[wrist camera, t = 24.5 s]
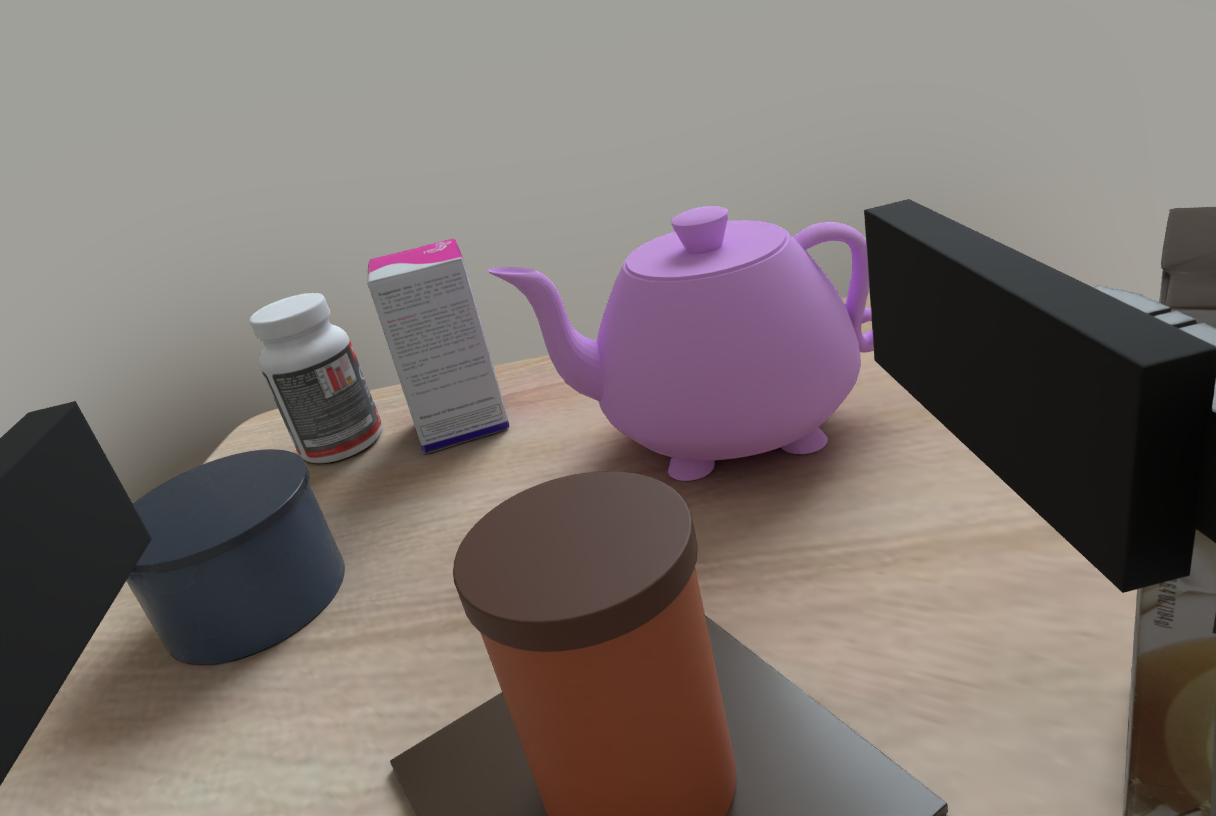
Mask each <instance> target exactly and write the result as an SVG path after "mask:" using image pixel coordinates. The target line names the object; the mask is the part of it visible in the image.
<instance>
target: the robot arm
mask: <svg viewBox="0 0 1216 816" xmlns="http://www.w3.org/2000/svg"><path fill="white" fill-rule="evenodd" d="M864 215H865V229H866V244H867V258H868V273H869V287H870V302H871V316H872V330H873V345H874V359H875V361H876V362H877V363H878V364H879V365H880V366H881V367H882V368H883V369H884V370H885V371H886V372H888V373H889V374H890V375H891V376H892V377H893V378H894V379H895V380H896V381H897V382H898V383H899V384H900V385H901V386H902V387H904V388H905V389H906V390H907V391H908V392H909V393H910V394H911V395H912V396H913V397H914V398H915V399H916V400H917V401H918V402H920V403H921V404H922V405H923V406H924V407H925V408H926V409H927V410H928V411H929V412H930V413H931V414H932V415H933V416H935V417H936V418H937V419H938V420H939V421H940V422H941V423H942V424H943V425H944V426H945V427H946V428H947V429H948V430H949V431H951V432H952V433H953V434H954V435H955V436H956V437H957V438H958V439H959V440H960V441H961V442H962V443H963V444H964V445H965V446H967V447H968V448H969V449H970V450H971V451H972V452H973V453H974V454H975V455H976V456H977V457H978V458H979V459H980V460H981V461H983V462H984V463H985V464H986V465H987V466H988V467H989V468H990V469H991V470H992V471H993V472H994V473H995V474H996V475H998V476H999V477H1000V478H1001V479H1002V480H1003V481H1004V482H1005V483H1006V484H1007V485H1008V486H1009V487H1010V488H1011V489H1012V490H1014V491H1015V492H1016V493H1017V494H1018V495H1019V496H1020V497H1021V498H1022V499H1023V500H1024V501H1025V502H1026V503H1027V504H1028V505H1030V506H1031V507H1032V508H1033V509H1034V510H1035V511H1036V512H1037V513H1038V514H1039V515H1040V516H1041V517H1042V518H1043V519H1044V520H1046V521H1047V522H1048V523H1049V524H1050V525H1051V526H1052V527H1053V528H1054V529H1055V530H1056V531H1057V532H1058V533H1059V534H1061V535H1062V536H1063V537H1064V538H1065V539H1066V540H1067V541H1068V542H1069V543H1070V544H1071V545H1072V546H1073V547H1074V548H1075V549H1077V550H1078V551H1079V552H1080V553H1081V554H1082V555H1083V556H1084V557H1085V558H1086V559H1087V560H1088V561H1089V562H1090V563H1091V564H1093V565H1094V566H1095V567H1096V568H1097V569H1098V570H1099V571H1100V572H1101V573H1102V574H1103V575H1104V576H1105V577H1106V578H1108V579H1109V580H1110V581H1111V582H1112V583H1113V584H1114V585H1115V586H1116V587H1117V588H1118V589H1119V590H1120V591H1121V592H1122V593H1124V592H1128V591H1132V590H1136V589H1140V588H1144V587H1147V586H1151V585H1155V584H1159V583H1163V582H1167V581H1171V580H1175V579H1179V578H1183V577H1187V576H1190V570H1191V563H1192V555H1193V548H1194V540H1195V533H1196V529H1197V530H1198V531H1200V532H1201V533H1202V534H1204V535H1205V536H1206V537H1208V538H1209V539H1210V540H1212V541H1213V542H1214V543H1216V328H1214V327H1212V326H1210V325H1207V324H1205V323H1199V324H1197V322H1196V319H1194V318H1192V317H1190V316H1188V315H1185V314H1183V313H1181V312H1179V311H1173V312H1172V311H1171V308H1170V307H1168V306H1166V305H1163V304H1161V303H1159V302H1157V301H1155V300H1152V299H1150V298H1148V297H1146V296H1144V295H1141V294H1138V293H1134V292H1128V291H1124V290H1119V289H1113V288H1109V287H1104V286H1099V285H1098V286H1094V287H1091V286H1089V285H1087V284H1085V283H1083V282H1081V281H1079V280H1076V279H1074V278H1072V277H1070V276H1068V275H1066V274H1064V273H1062V272H1060V271H1058V270H1056V269H1054V268H1051V267H1049V266H1047V265H1045V264H1043V263H1041V262H1039V261H1037V260H1035V259H1032V258H1031V257H1028V256H1026V255H1024V254H1022V253H1020V252H1018V251H1016V250H1014V249H1012V248H1010V247H1008V246H1005V245H1003V244H1001V243H999V242H997V241H995V240H993V239H991V238H989V237H987V236H985V235H983V234H981V233H979V232H976V231H974V230H972V229H970V228H968V227H966V226H964V225H962V224H960V223H958V222H956V221H954V220H951V219H949V218H947V217H945V216H943V215H941V214H938V213H937V212H935V211H933V210H931V209H929V208H926V207H924V206H922V205H920V204H918V203H916V202H914V201H912V200H910V199H908V200H903V201H899V202H895V203H891V204H887V205H884V206H879V207H875V208H870V209H866V210H864ZM151 539H152V538H151V536H150V535H149V533H148V531H147V529H146V527H145V526H144V524H143V522H142V520H141V518H140V517H139V515H138V513H137V511H136V509H135V508H134V506H133V504H132V502H131V501H130V499H129V497H128V495H127V493H126V491H125V490H124V488H123V486H122V484H121V482H120V480H119V479H118V477H117V475H116V473H115V471H114V470H113V468H112V466H111V464H110V463H109V461H108V459H107V457H106V455H105V453H104V452H103V450H102V448H101V446H100V444H99V443H98V441H97V439H96V437H95V435H94V434H93V432H92V430H91V428H90V426H89V425H88V423H87V421H86V419H85V417H84V416H83V414H82V412H81V410H80V408H79V407H78V405H77V403H76V401H74V402H70V403H66V404H62V405H58V406H54V407H49V408H46V409H41V410H37V411H33V412H29V413H27V414H26V415H25V416H24V417H23V418H22V419H21V420H20V421H19V422H18V423H16V424H15V425H14V426H13V427H12V428H11V429H10V430H9V431H8V432H7V433H5V434H4V435H3V436H2V437H1V438H0V785H1V784H2V782H3V781H4V779H5V777H6V776H7V774H8V772H9V771H10V769H11V767H12V766H13V764H14V763H15V761H16V759H17V758H18V756H19V754H20V753H21V751H22V750H23V748H24V746H25V745H26V743H27V741H28V740H29V738H30V737H31V735H32V733H33V732H34V730H35V728H36V727H37V725H38V723H39V722H40V720H41V719H42V717H43V715H44V714H45V712H46V710H47V709H48V707H49V706H50V704H51V702H52V701H53V699H54V697H55V696H56V694H57V693H58V691H59V689H60V688H61V686H62V684H63V683H64V681H65V680H66V678H67V676H68V675H69V673H70V671H71V670H72V668H73V666H74V665H75V663H76V662H77V660H78V658H79V657H80V655H81V653H82V652H83V650H84V649H85V647H86V645H87V644H88V642H89V640H90V639H91V637H92V636H93V634H94V632H95V631H96V629H97V627H98V626H99V624H100V622H101V621H102V619H103V618H104V616H105V614H106V613H107V611H108V609H109V608H110V606H111V605H112V603H113V601H114V600H115V598H116V596H117V595H118V593H119V592H120V590H121V588H122V587H123V585H124V583H125V582H126V580H127V579H128V577H129V575H130V574H131V572H132V570H133V569H134V567H135V565H136V564H137V562H138V561H139V559H140V557H141V556H142V554H143V552H144V551H145V549H146V548H147V546H148V544H149V543H150V541H151ZM1213 633H1215V634H1216V614H1215V620H1214V627H1213ZM1210 816H1216V700H1215V722H1214V744H1213V767H1212V789H1211V811H1210Z"/></svg>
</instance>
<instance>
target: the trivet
mask: <svg viewBox="0 0 1216 816" xmlns="http://www.w3.org/2000/svg"><path fill="white" fill-rule="evenodd" d="M705 619H706V624H707V628H708V633H709V638H710V643H711V648H712V652H713V657H714V662H715V667H716V672H717V677H718V681H719V686H720V691H721V696H722V701H723V706H724V710H725V715H726V720H727V725H728V730H729V735H730V739H731V744H732V749H733V754H734V759H735V765H736V787H735V793H734V796H733V799H732V802H731V805H730V808H729V810H728V812H727V814H726V816H944V815H945V814H946V813H947V812H948V805H947V803H946V802H945V801H943V800H942V799H941V798H939V797H938V796H937V795H936V794H934V793H933V792H932V791H930V790H929V789H928V788H927V787H925V786H924V785H923V784H921V783H920V782H919V781H918V780H916V779H915V778H914V777H912V776H911V775H910V774H909V773H907V772H906V771H905V770H903V769H902V768H901V767H900V766H898V765H897V764H896V763H894V762H893V761H892V760H891V759H889V758H888V757H887V756H885V755H884V754H883V753H882V752H880V751H879V750H878V749H876V748H875V747H874V746H873V745H871V744H870V743H869V742H867V741H866V740H865V739H864V738H862V737H861V736H860V735H858V734H857V733H856V732H855V731H853V730H852V729H851V728H849V727H848V726H847V725H846V724H844V723H843V722H842V721H840V720H839V719H838V718H837V717H835V716H834V715H833V714H831V713H830V712H829V711H828V710H826V709H825V708H824V707H822V706H821V705H820V704H819V703H817V702H816V701H815V700H813V699H812V698H811V697H810V696H808V695H807V694H806V693H804V692H803V691H802V690H801V689H799V688H798V687H797V686H795V685H794V684H793V683H792V682H790V681H789V680H788V679H786V678H785V677H784V676H783V675H781V674H780V673H779V672H777V671H776V670H775V669H774V668H772V667H771V666H770V665H768V664H767V663H766V662H765V661H763V660H762V659H761V658H759V657H758V656H757V655H756V654H754V653H753V652H752V651H751V650H749V649H748V648H747V647H745V646H744V645H743V644H742V643H740V642H739V641H738V640H736V639H735V638H734V637H733V636H731V635H730V634H729V633H727V632H726V631H725V630H724V629H722V628H721V627H720V626H718V625H717V624H716V623H715V622H713V621H712V620H711V619H709V618H708V617H707V616H706V615H705ZM390 763H391V765H392V767H393V769H394V771H395V773H396V775H397V777H398V779H399V781H400V783H401V785H402V787H403V788H404V790H405V792H406V794H407V796H408V798H409V800H410V802H411V804H412V806H413V808H414V810H415V812H416V814H417V815H418V816H547V813H546V810H545V807H544V805H543V802H542V799H541V796H540V794H539V791H538V788H537V786H536V783H535V780H534V777H533V775H532V772H531V769H530V766H529V764H528V761H527V758H526V755H525V753H524V750H523V747H522V744H521V742H520V739H519V736H518V734H517V731H516V728H515V725H514V723H513V720H512V717H511V714H510V712H509V709H508V706H507V703H506V701H505V698H504V695H503V692H502V693H500V694H498V695H497V696H495V697H493V698H492V699H490V700H488V701H487V702H485V703H484V704H482V705H480V706H479V707H477V708H475V709H474V710H472V711H470V712H469V713H467V714H466V715H464V716H462V717H461V718H459V719H457V720H456V721H454V722H452V723H451V724H449V725H448V726H446V727H444V728H443V729H441V730H439V731H438V732H436V733H434V734H433V735H431V736H430V737H428V738H426V739H425V740H423V741H421V742H420V743H418V744H416V745H415V746H413V747H412V748H410V749H408V750H407V751H405V752H403V753H402V754H400V755H398V756H397V757H395V758H394V759H392V760H390Z"/></svg>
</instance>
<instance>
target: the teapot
mask: <svg viewBox="0 0 1216 816" xmlns="http://www.w3.org/2000/svg"><path fill="white" fill-rule="evenodd" d="M727 219H728V210H727V209H725V208H722V207H717V206H706V207H699V208H694V209H691V210H687V211H685V212H682V213H680V214H678V215H677V216H675V217H674V218H673V219H672V220H671V223H672V226H673V228H674V231H675V232H672V233H668V234H666V235H663V236H660V237H658V238H655V239H653V240H651V241H649V242H647V243H645V244H643V245H641V246H640V247H638V248H637V249H635V250H634V251H633V252H632V253H631V254H630V255H629V257H628V258H627V259H626V260H625V262H624V264H623V266H622V268H621V270H620V272H619V274H618V276H617V278H616V281H615V284H614V286H613V289H612V292H611V294H610V297H609V300H608V303H607V305H606V308H605V311H604V315H603V318H602V322H601V325H600V329H599V332H598V338H597V342H596V341H593V340H591V339H589V338H586V337H584V336H582V335H581V334H579V333H578V332H577V331H575V329H574V328H573V327H572V325H571V323H570V322H569V319H568V317H567V314H566V312H565V308H564V306H563V302H562V300H561V297H560V295H559V293H558V290H557V288H556V287H555V286H554V284H553V283H552V282H551V280H549V279H548V278H547V277H546V276H545V275H544V274H542V273H541V272H539V271H536V270H533V269H526V268H513V267H507V268H506V267H502V268H491V269H488V272H489V273H491V274H493V275H495V276H497V277H500V278H501V279H503V280H505V281H507V282H509V283H511V284H513V285H514V286H516V287H517V288H518V289H519V290H520V291H521V292H522V293H523V294H524V295H525V296H526V297H527V299H528V300H529V302H530V304H531V305H532V307H533V309H534V311H535V314H536V316H537V318H538V321H539V325H540V328H541V331H542V334H543V338H544V341H545V344H546V347H547V350H548V353H549V355H550V358H551V360H552V362H553V364H554V366H555V368H556V370H557V372H558V373H559V375H560V376H561V377H562V378H563V379H564V381H565V382H566V383H567V384H568V385H569V386H571V387H572V388H573V389H575V390H576V391H578V392H579V393H581V394H583V395H585V396H588V397H590V398H593V399H595V400H598V401H599V404H600V407H601V410H602V411H603V413H604V414H605V416H606V417H607V419H608V420H609V421H610V423H611V424H612V425H613V426H614V427H616V428H617V429H618V430H619V431H620V432H622V433H623V434H625V435H626V436H628V437H629V438H631V439H632V440H634V441H636V442H637V443H639V444H641V445H643V446H645V447H646V448H648V449H650V450H652V451H654V452H657V453H659V454H662V455H666V456H669V457H671V461H670V465H669V469H668V473H669V475H670V476H671V477H672V478H674V479H676V480H681V481H691V480H696V479H700V478H702V477H705V476H706V475H708V474H709V473H711V471H712V470H713V469H714V466H715V460H725V459H733V458H741V457H746V456H751V455H756V454H760V453H764V452H767V451H771V450H774V449H777V448H780V447H781V448H782V449H783V450H784V451H786V452H788V453H792V454H808V453H813V452H816V451H818V450H820V449H822V448H823V447H824V446H825V445H826V444H827V442H828V438H827V436H826V435H825V434H824V432H823V431H822V430H821V429H820V427H819V426H820V425H822V424H823V423H824V422H825V421H826V420H827V419H828V418H829V416H830V415H832V414H833V413H834V411H835V410H836V409H837V408H838V407H839V405H840V404H841V403H842V402H843V401H844V399H845V398H846V397H847V395H848V394H849V393H850V391H851V390H852V388H853V386H854V385H855V383H856V380H857V377H858V374H859V370H860V366H861V360H860V352H870V351H873V350H874V345H873V330H871V331H869V332H868V333H865V334H862V333H861V324H862V323H865V322H868V321H872V316H871V307H870V308H867V309H865V304H866V300H867V296H868V291H869V273H868V258H867V244H866V239H865V238H864V236H863V235H862V234H861V233H860V232H858V231H857V230H855V229H853V228H852V227H850V226H847V225H844V224H841V223H835V222H823V223H818V224H814V225H812V226H809V227H807V228H805V229H804V230H802V231H800V232H798V233H797V234H796V235H795V237H792V236H791V235H790V234H789V233H788V232H787V231H786V230H784V229H783V228H781V227H779V226H777V225H775V224H772V223H768V222H763V221H752V220H750V221H749V220H738V221H727ZM826 241H842V242H845V243H847V244H848V245H849V246H850V248H851V252H852V275H851V281H850V287H849V291H848V296H847V300H846V305H845V304H844V302H843V300H842V299H841V297H840V295H839V293H838V291H837V290H836V288H835V287H834V286H833V284H832V283H831V281H830V280H829V278H828V277H827V276H826V274H825V273H824V272H823V271H822V269H821V268H820V267H819V266H818V265H817V264H816V262H815V261H814V260H813V259H812V257H811V256H810V255H809V254H808V253H807V252H806V249H807V248H810V247H812V246H814V245H817V244H819V243H822V242H826Z"/></svg>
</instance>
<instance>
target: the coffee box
mask: <svg viewBox="0 0 1216 816" xmlns="http://www.w3.org/2000/svg"><path fill="white" fill-rule="evenodd" d="M1169 211H1170V213H1169V217H1168V222H1167V227H1166V234H1165V240H1164V245H1163V252H1162V260H1161V267H1162V269H1163V272H1162V282H1161V291H1160V300H1159V303H1161V304H1163V305H1166V306H1168V307H1170V308H1171V311H1172V312H1173V311H1179V312H1181V313H1183V314H1185V315H1188V316H1190V317H1192V318H1194V319H1196V322H1197V324H1199V323H1205V324H1207V325H1210V326H1212V327H1214V328H1216V207H1202V208H1175V209H1170V210H1169ZM1215 614H1216V543H1214V542H1213V541H1212V540H1210V539H1209V538H1208V537H1206V536H1205V535H1204V534H1202V533H1201V532H1200V531H1198V530H1197V529H1196V533H1195V540H1194V548H1193V555H1192V563H1191V570H1190V576H1187V577H1183V578H1179V579H1175V580H1171V581H1167V582H1163V583H1159V584H1155V585H1151V586H1147V587H1144V588H1140V589H1137V601H1136V616H1135V628H1134V642H1133V658H1132V669H1131V690H1130V699H1129V721H1128V736H1127V755H1126V772H1125V790H1124V808H1123V816H1210V811H1211V789H1212V767H1213V744H1214V722H1215V700H1216V634H1215V633H1213V627H1214V620H1215Z"/></svg>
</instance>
